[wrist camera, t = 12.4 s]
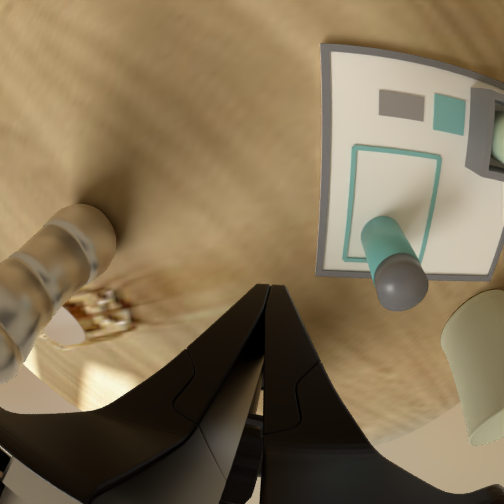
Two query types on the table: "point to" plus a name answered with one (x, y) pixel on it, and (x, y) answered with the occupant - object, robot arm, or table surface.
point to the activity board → (409, 162)
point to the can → (478, 363)
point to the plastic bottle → (49, 277)
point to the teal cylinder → (393, 265)
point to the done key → (498, 137)
